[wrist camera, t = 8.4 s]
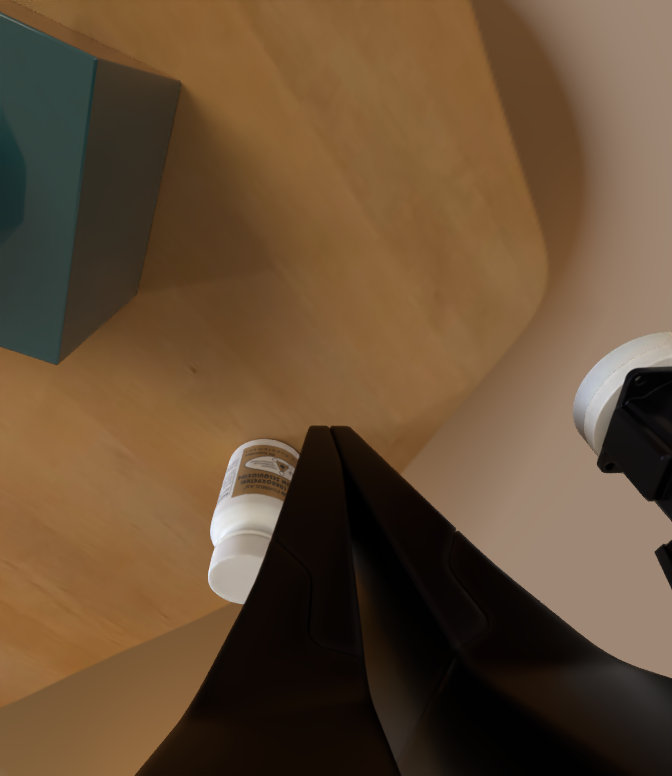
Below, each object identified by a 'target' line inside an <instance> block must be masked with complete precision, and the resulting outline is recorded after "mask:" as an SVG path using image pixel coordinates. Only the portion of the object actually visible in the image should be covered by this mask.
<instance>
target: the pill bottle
mask: <svg viewBox="0 0 672 776" xmlns="http://www.w3.org/2000/svg"><path fill="white" fill-rule="evenodd" d="M298 458H299V454H298V453H297V452H296V451H295V450H294V449H293V448H291V447H290V446H288V445H287V444H285V443H282V442H280V441H276V440H271V439H258V440H253V441H249V442H247V443H245V444H243V445H241V446H240V447H239V448H238V449H237V450H236V451H235V452H234V453H233V455H232V457H231V459H230V461H229V465H228V468H227V471H226V474H225V478H224V481H223V485H222V488H221V492H220V496H219V499H218V502H217V506H216V509H215V512H214V515H213V519H212V523H211V529H210V533H211V539H212V542H213V544H214V546H215V548H214V552H213V555H212V559H211V563H210V568H209V572H208V581H209V584H210V587H211V588H212V590H213V591H214V592H215V593H216V594H217V595H219V596H220V597H222V598H224V599H226V600H228V601H231V602H234V603H238V604H244V603H245V601H246V599H247V597H248V595H249V592H250V590H251V588H252V586H253V584H254V582H255V580H256V577H257V575H258V572H259V569H260V567H261V564H262V562H263V559H264V557H265V554H266V551H267V548H268V545H269V542H270V540H271V537H272V534H273V531H274V528H275V525H276V522H277V519H278V517H279V514H280V511H281V508H282V505H283V502H284V499H285V496H286V493H287V490H288V487H289V484H290V482H291V479H292V476H293V473H294V470H295V467H296V464H297V461H298Z"/></svg>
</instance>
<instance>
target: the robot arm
mask: <svg viewBox="0 0 672 776" xmlns="http://www.w3.org/2000/svg"><path fill="white" fill-rule="evenodd" d="M639 376H641V377H640V378H639V379H638V380H636V378H637V377H639ZM608 463H609V464H608ZM607 464H608V465H607ZM597 466H598V467H599V468H600V470H601V471H602V472H604V473H624V474H625V475H626V477H627V478H628V479H629V480H630V481H631V483H632V484H633V485H634V486H635V487H636V488H637V490H638V491H639V492H640V493H641V494H642V496H643V497H644V498H645V499H646V500H647V501H655V502H656V504H657V505H658V506H659V507H660V508H661V509H662V511H663V512H664V513H665V514H666V515H667V516H668V518H669V519H670V520H671V521H672V366H666V367H639V368H634V369H632V370H630V371H629V372H628V373H627V375H626V377H625V380H624V383H623V386H622V389H621V392H620V395H619V398H618V401H617V404H616V407H615V410H614V411H613V414H612V417H611V420H610V423H609V426H608V429H607V432H606V435H605V438H604V441H603V444H602V449H601V452H600V455H599V458H598V461H597ZM655 554H656V556H657V559H658V561H659V563H660V565H661V567H662V569H663V571H664V574H665V576H666V578H667V580H668V582H669V584H670V586H671V589H672V540H671V541H670V542H669V543H667V544H663V545H661V546H660V547H659V548H658V549H657V550H656V551H655ZM135 776H672V678H669V677H666V676H663V675H660V674H657V673H654V672H650V671H648V670H644V669H641V668H639V667H636V666H633V665H631V664H628V663H626V662H624V661H622V660H619V659H617V658H615V657H614V656H612V655H610V654H608V653H607V652H605V651H603V650H602V649H600V648H598V647H597V646H596V645H594V644H593V643H592V642H590V641H589V640H588V639H586V638H585V637H584V636H582V635H581V634H580V633H578V632H577V631H576V630H575V629H574V628H572V627H571V626H570V625H569V624H567V623H566V622H565V621H564V620H562V619H561V618H560V617H559V616H557V615H556V614H555V613H554V612H552V611H551V610H550V609H548V608H547V607H546V606H545V605H543V604H542V603H541V602H540V601H539V600H537V599H536V598H535V597H534V596H533V595H531V594H530V593H529V592H528V591H526V590H525V589H524V588H522V587H521V586H520V585H519V584H517V583H516V582H515V581H514V580H513V579H512V578H510V577H509V576H508V575H507V574H506V573H505V572H503V571H502V570H501V569H500V568H499V567H497V566H496V565H495V564H494V563H493V562H492V561H491V560H490V559H488V558H487V557H486V556H485V555H484V554H483V553H482V552H481V551H480V550H479V549H477V548H476V547H475V546H474V545H473V544H472V543H471V542H470V541H469V540H468V539H467V538H466V537H465V536H464V535H462V533H460V532H459V531H456V528H455V527H454V526H453V525H452V524H451V523H450V522H449V521H448V520H447V519H446V518H445V517H444V516H443V515H442V514H440V513H439V512H438V511H437V510H436V509H435V508H434V507H433V506H432V505H431V504H430V503H429V502H428V501H427V500H426V499H425V498H424V497H423V496H422V495H421V494H420V493H418V491H416V490H415V489H414V488H413V487H412V486H411V485H410V484H409V483H408V482H407V481H406V480H405V479H404V478H403V477H402V476H401V475H400V474H399V473H398V472H397V471H396V470H395V469H393V468H392V467H391V466H390V465H389V464H388V463H387V462H386V461H385V460H384V459H383V458H382V457H381V456H380V455H379V454H378V453H377V452H376V451H375V450H374V449H373V448H372V447H371V446H369V445H368V444H367V443H366V442H365V441H364V440H363V439H362V438H361V437H360V436H359V435H358V434H357V433H356V432H355V431H354V430H353V429H352V428H351V427H349V426H331V427H330V428H329V427H328V426H310V427H309V429H308V432H307V435H306V438H305V441H304V444H303V447H302V449H301V452H300V455H299V458H298V461H297V464H296V467H295V470H294V473H293V476H292V479H291V482H290V484H289V487H288V490H287V493H286V496H285V499H284V502H283V505H282V508H281V511H280V514H279V517H278V519H277V522H276V525H275V528H274V531H273V534H272V537H271V540H270V542H269V545H268V548H267V551H266V554H265V557H264V559H263V562H262V564H261V567H260V569H259V572H258V575H257V577H256V580H255V582H254V584H253V586H252V588H251V590H250V592H249V595H248V597H247V599H246V601H245V603H244V605H243V607H242V609H241V611H240V613H239V615H238V617H237V619H236V621H235V623H234V625H233V626H232V628H231V630H230V632H229V634H228V636H227V638H226V640H225V642H224V644H223V646H222V647H221V650H220V651H219V653H218V655H217V657H216V659H215V661H214V663H213V665H212V667H211V669H210V671H209V672H208V674H207V676H206V678H205V680H204V682H203V683H202V685H201V687H200V689H199V691H198V692H197V694H196V696H195V697H194V699H193V701H192V702H191V704H190V706H189V707H188V709H187V710H186V712H185V713H184V715H183V716H182V718H181V719H180V721H179V722H178V724H177V725H176V726H175V727H174V728H173V730H172V731H171V732H170V733H169V735H168V736H167V737H166V738H165V739H164V741H163V742H162V743H161V744H160V745H159V747H158V748H157V749H156V750H155V751H154V753H153V754H152V755H151V756H150V757H149V759H148V760H147V761H146V762H145V764H144V765H143V766H142V767H141V768H140V770H139V771H138V772H137V773H136V775H135Z"/></svg>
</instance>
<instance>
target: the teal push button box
mask: <svg viewBox="0 0 672 776" xmlns="http://www.w3.org/2000/svg"><path fill="white" fill-rule="evenodd" d="M180 86H181V81H180V80H178V79H175V78H173V77H171V76H169V75H167V74H165V73H163V72H161V71H159V70H157V69H155V68H152V67H150V66H148V65H146V64H144V63H142V62H140V61H138V60H136V59H134V58H131V57H129V56H127V55H125V54H123V53H121V52H119V51H117V50H115V49H113V48H110V47H108V46H106V45H104V44H102V43H100V42H98V41H96V40H94V39H92V38H90V37H87V36H85V35H83V34H81V33H79V32H77V31H75V30H73V29H71V28H69V27H66V26H64V25H62V24H60V23H58V22H56V21H54V20H52V19H50V18H48V17H45V16H43V15H41V14H39V13H37V12H35V11H33V10H31V9H29V8H27V7H25V6H22V5H20V4H18V3H16V2H14V1H12V0H0V347H2V348H6V349H9V350H12V351H15V352H18V353H21V354H24V355H27V356H30V357H33V358H36V359H39V360H42V361H46V362H49V363H52V364H55V365H58V364H59V363H60V362H61V361H63V360H64V359H65V358H66V357H67V356H68V355H69V354H70V353H72V352H73V351H74V350H75V349H76V348H77V347H78V346H79V345H81V344H82V343H83V342H84V341H85V340H86V339H87V338H88V337H90V336H91V335H92V334H93V333H94V332H95V331H96V330H97V329H99V328H100V327H101V326H102V325H103V324H104V323H105V322H106V321H107V320H109V319H110V318H111V317H112V316H113V315H114V314H115V313H116V312H118V311H119V310H120V309H121V308H122V307H123V306H124V305H125V304H127V303H128V302H129V301H130V300H131V299H132V298H133V297H134V296H136V295H137V292H138V287H139V282H140V277H141V273H142V268H143V263H144V258H145V254H146V249H147V244H148V239H149V234H150V230H151V225H152V220H153V215H154V211H155V206H156V201H157V196H158V191H159V187H160V182H161V177H162V172H163V168H164V163H165V158H166V153H167V148H168V144H169V139H170V134H171V129H172V125H173V120H174V115H175V110H176V105H177V101H178V96H179V91H180Z"/></svg>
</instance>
